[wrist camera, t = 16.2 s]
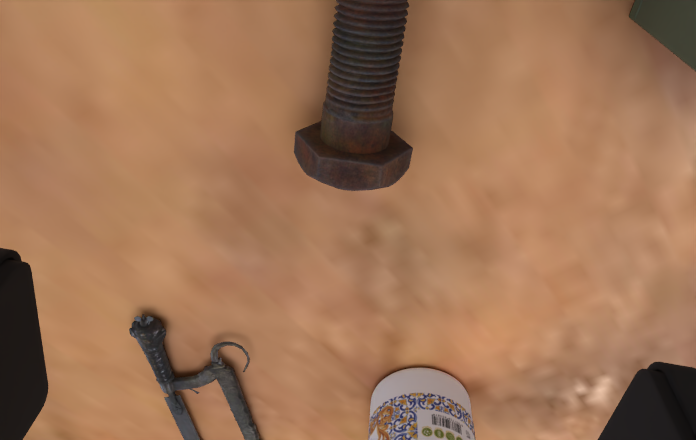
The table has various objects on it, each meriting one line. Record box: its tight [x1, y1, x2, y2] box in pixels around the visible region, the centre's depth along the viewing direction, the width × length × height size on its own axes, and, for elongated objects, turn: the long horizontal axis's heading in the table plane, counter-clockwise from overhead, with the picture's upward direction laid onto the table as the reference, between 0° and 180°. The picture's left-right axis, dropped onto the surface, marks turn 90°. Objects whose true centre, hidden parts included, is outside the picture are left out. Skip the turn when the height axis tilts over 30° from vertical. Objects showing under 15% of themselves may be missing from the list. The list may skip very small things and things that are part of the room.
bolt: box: [294, 0, 413, 191], centre depth 27 cm, size 6×5×15 cm
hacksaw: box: [129, 314, 260, 440], centre depth 45 cm, size 24×10×2 cm, turn 8°
